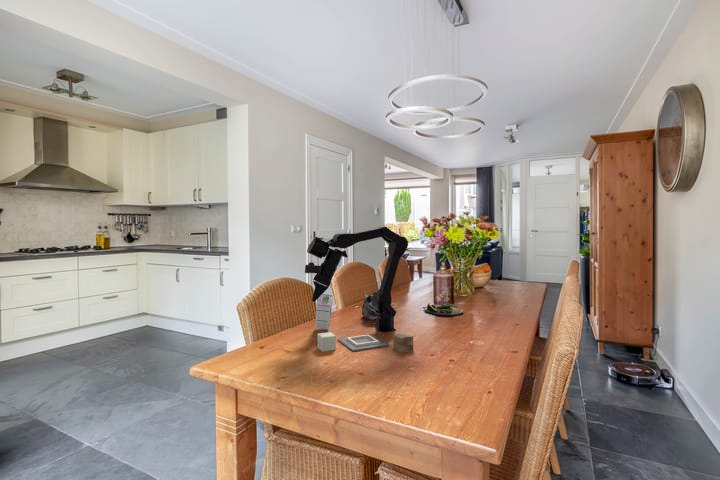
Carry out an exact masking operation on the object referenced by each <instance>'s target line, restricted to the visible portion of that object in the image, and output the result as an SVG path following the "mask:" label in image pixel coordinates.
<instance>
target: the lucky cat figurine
mask: <svg viewBox="0 0 720 480" xmlns="http://www.w3.org/2000/svg"><path fill="white" fill-rule="evenodd" d="M372 297H373V294H371V295H370V294H369V295H368V294H364V295H363V304H362V307H361V315H362V316H363V318H364V319H367V320H370V319H371V321H373V320H376V318H377V315H378V313H376V311H375V309H374V308H373V307H372V301H371V299H372ZM391 307H392V308H393V304H391Z"/></svg>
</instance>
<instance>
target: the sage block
mask: <svg viewBox="0 0 720 480" xmlns="http://www.w3.org/2000/svg"><path fill="white" fill-rule="evenodd" d="M336 337H337V336H336V335H335V334H334V333H333V332H331V331H329V332H321V333H317V348H318V349H319V351H320V352H331V351H336V350H337V341H336V340H337V339H336Z"/></svg>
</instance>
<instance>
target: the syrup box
mask: <svg viewBox="0 0 720 480" xmlns="http://www.w3.org/2000/svg"><path fill="white" fill-rule="evenodd" d="M333 297H334V296H333V295H331V294H326V293H323V294H322V295H321V296H320V297H319V298H318V299H317V300H316V305H315V306H316V308H315V309H316V310H315V324H314V328H315V329H317V330H324V331H325V330H326V331H328V330H329V329H330V324H331V318H332V306H333Z"/></svg>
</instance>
